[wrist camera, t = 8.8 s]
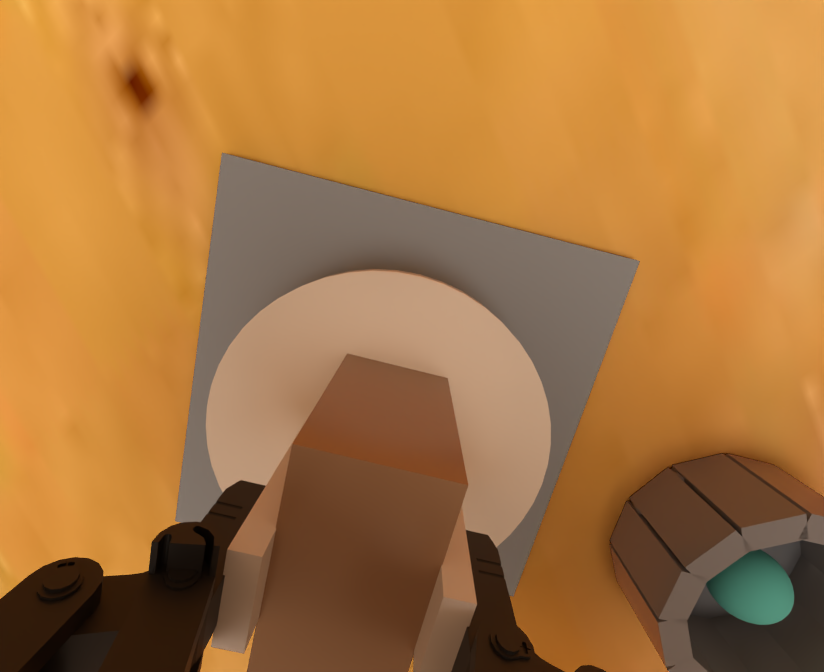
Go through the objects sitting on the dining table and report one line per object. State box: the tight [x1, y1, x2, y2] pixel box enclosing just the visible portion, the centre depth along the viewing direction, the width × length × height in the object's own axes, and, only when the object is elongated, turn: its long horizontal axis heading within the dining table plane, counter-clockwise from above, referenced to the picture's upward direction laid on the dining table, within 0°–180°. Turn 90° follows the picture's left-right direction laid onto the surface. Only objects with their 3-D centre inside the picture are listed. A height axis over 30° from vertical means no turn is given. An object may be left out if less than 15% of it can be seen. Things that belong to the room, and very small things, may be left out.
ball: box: [706, 549, 794, 625], centre depth 21 cm, size 4×4×4 cm
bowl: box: [609, 453, 824, 672], centre depth 21 cm, size 11×11×5 cm
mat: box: [175, 153, 640, 596], centre depth 22 cm, size 20×20×1 cm
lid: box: [206, 269, 551, 672], centre depth 14 cm, size 14×14×8 cm
